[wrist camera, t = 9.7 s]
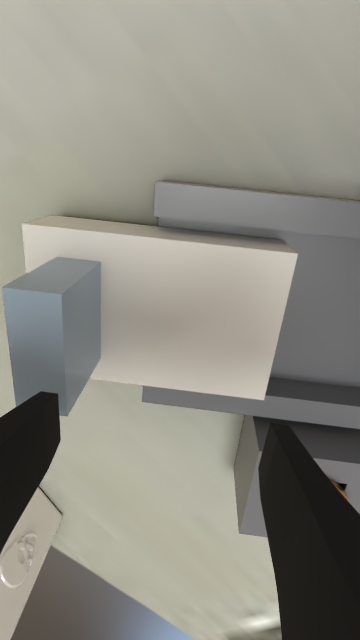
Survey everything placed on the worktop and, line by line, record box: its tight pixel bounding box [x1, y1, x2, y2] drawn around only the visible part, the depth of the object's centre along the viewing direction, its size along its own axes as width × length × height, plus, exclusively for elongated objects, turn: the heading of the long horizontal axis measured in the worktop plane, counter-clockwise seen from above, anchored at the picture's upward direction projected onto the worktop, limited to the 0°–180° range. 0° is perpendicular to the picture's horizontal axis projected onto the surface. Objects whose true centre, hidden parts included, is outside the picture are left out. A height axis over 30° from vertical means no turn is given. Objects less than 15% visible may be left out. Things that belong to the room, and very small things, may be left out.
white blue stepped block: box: [2, 215, 298, 416], centre depth 16 cm, size 12×8×8 cm, turn 85°
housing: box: [142, 180, 360, 537], centre depth 19 cm, size 16×19×5 cm
